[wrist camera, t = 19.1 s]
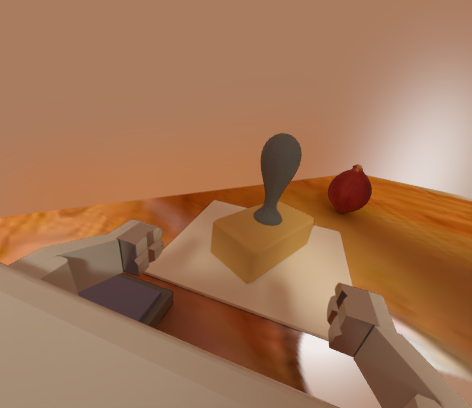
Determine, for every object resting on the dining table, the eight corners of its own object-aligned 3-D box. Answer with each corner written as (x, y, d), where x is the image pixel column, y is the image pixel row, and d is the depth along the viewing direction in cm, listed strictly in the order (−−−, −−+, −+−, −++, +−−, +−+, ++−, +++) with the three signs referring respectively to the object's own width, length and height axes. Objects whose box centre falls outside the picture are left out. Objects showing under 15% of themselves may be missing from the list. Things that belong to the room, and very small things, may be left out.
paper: (339, 233, 28) (339, 231, 28) (365, 354, 15) (367, 352, 14) (214, 201, 32) (214, 199, 32) (142, 273, 19) (141, 270, 18)
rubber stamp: (269, 222, 28) (290, 127, 23) (307, 245, 25) (343, 139, 19) (208, 250, 22) (218, 127, 16) (249, 286, 18) (278, 145, 13)
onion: (329, 201, 38) (345, 157, 34) (364, 215, 35) (386, 167, 31) (316, 210, 34) (332, 161, 30) (353, 226, 31) (377, 173, 27)
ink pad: (173, 302, 16) (172, 288, 16) (-128, 732, 5) (-175, 749, 4) (71, 263, 19) (67, 249, 18) (-295, 504, 7) (-342, 491, 7)
